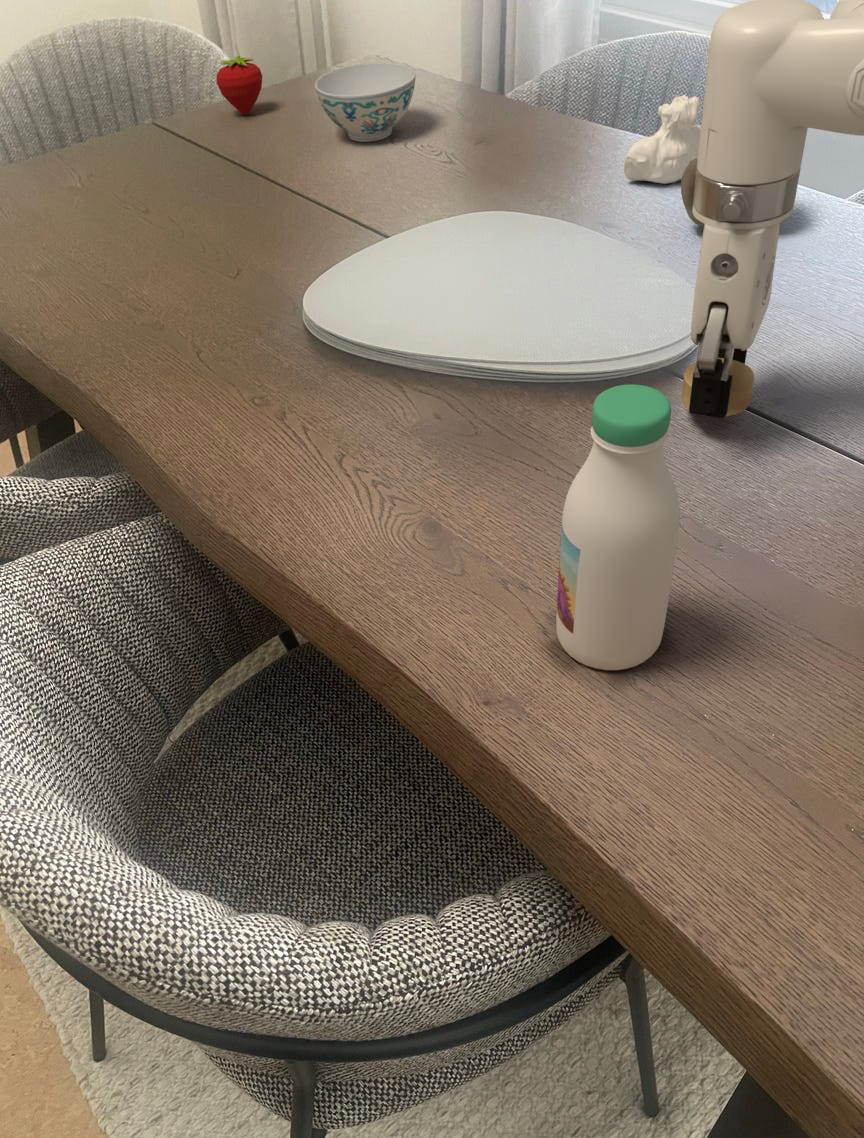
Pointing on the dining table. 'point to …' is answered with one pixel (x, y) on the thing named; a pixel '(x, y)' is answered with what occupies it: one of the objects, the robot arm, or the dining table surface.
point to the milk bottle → (619, 535)
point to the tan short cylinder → (739, 387)
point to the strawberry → (240, 83)
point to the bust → (667, 144)
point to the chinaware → (367, 98)
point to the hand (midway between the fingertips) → (716, 392)
